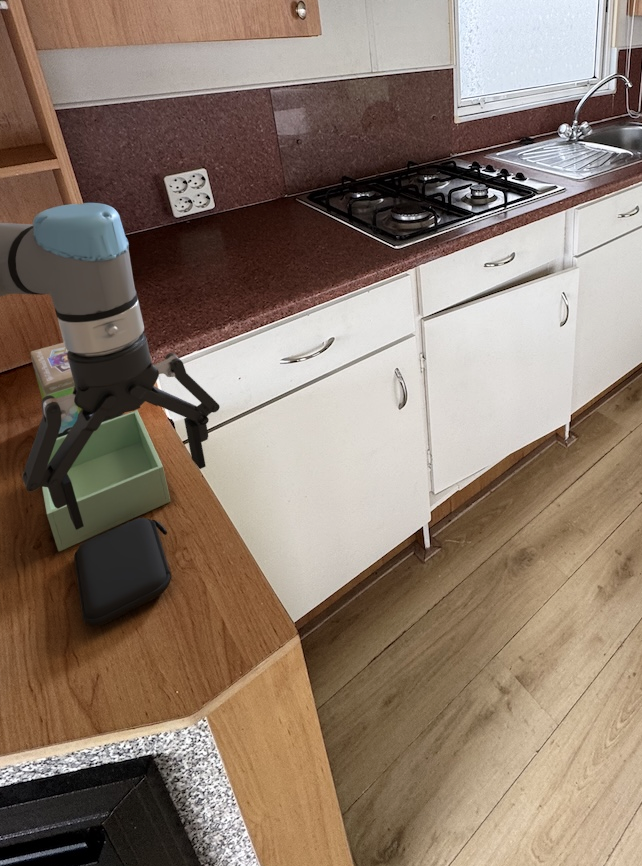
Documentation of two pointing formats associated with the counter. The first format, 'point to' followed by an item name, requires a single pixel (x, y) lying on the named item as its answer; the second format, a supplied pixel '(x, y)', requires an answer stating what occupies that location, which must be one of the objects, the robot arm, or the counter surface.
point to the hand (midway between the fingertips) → (141, 490)
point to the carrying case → (121, 570)
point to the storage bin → (110, 481)
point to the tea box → (56, 379)
